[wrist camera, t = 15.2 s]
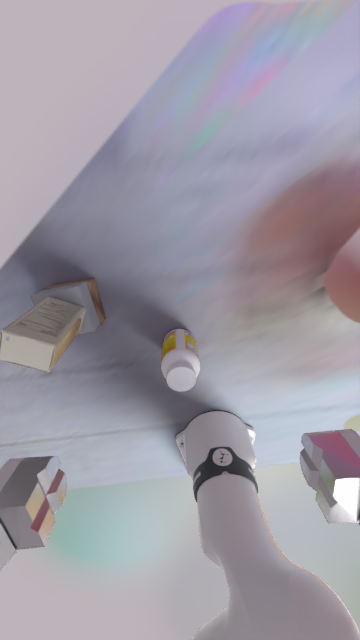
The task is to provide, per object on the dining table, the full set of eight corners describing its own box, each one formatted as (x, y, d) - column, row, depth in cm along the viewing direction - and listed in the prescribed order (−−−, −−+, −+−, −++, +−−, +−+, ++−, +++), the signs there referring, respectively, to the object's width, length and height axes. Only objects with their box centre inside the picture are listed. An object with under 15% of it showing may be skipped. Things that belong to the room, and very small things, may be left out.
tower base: (106, 318, 48) (101, 324, 45) (66, 323, 49) (58, 330, 46) (95, 277, 46) (88, 281, 42) (53, 284, 46) (43, 288, 43)
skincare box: (43, 318, 41) (-6, 359, 30) (48, 295, 39) (-3, 328, 28) (82, 331, 42) (48, 374, 31) (88, 308, 40) (55, 346, 29)
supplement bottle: (162, 355, 51) (158, 395, 39) (164, 326, 49) (160, 359, 37) (194, 358, 52) (199, 398, 40) (197, 329, 49) (205, 362, 37)
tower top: (100, 324, 45) (94, 331, 42) (58, 331, 46) (49, 340, 42) (85, 281, 42) (78, 286, 39) (41, 290, 43) (30, 295, 39)
